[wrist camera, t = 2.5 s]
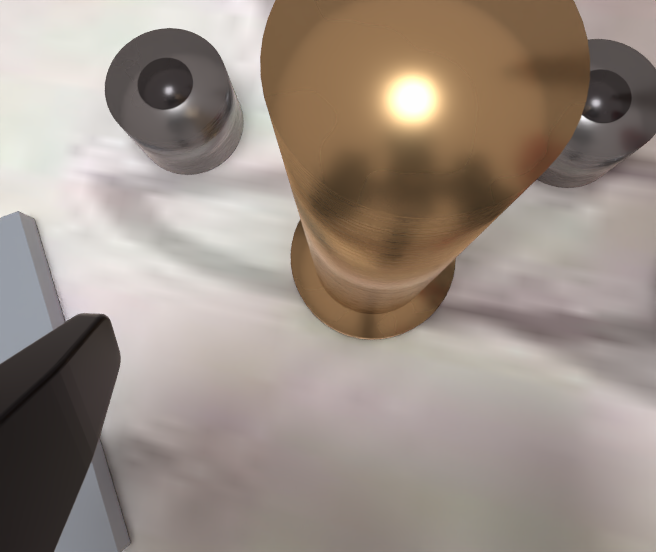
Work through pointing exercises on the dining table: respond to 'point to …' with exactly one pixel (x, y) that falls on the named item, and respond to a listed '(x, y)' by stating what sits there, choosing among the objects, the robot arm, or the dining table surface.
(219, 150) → the spacer
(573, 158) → the cylinder
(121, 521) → the slate pad
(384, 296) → the disc
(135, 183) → the dining table surface
